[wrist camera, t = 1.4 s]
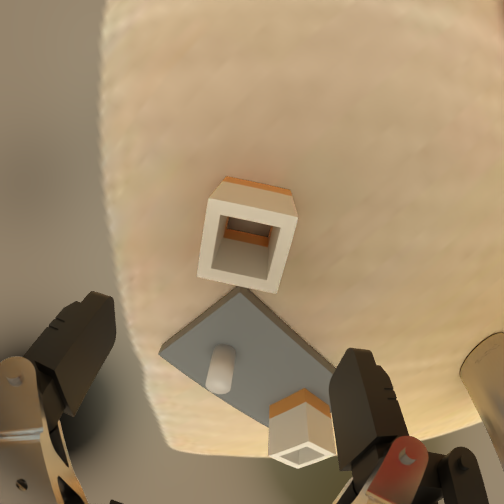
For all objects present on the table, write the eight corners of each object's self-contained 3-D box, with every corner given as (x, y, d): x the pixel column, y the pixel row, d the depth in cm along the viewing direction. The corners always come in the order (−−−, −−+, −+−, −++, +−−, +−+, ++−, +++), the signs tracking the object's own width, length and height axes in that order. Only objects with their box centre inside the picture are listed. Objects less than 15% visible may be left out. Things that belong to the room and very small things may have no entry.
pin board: (358, 388, 31) (371, 445, 24) (281, 425, 35) (281, 478, 27) (241, 283, 26) (229, 349, 18) (162, 344, 30) (136, 404, 22)
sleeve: (290, 190, 22) (298, 217, 16) (275, 248, 24) (276, 293, 18) (226, 176, 22) (208, 198, 16) (215, 235, 24) (196, 276, 18)
